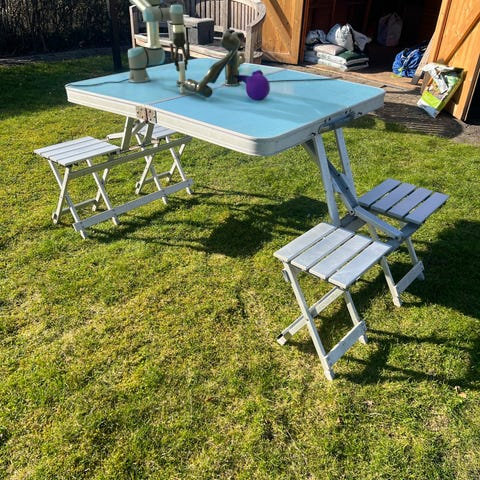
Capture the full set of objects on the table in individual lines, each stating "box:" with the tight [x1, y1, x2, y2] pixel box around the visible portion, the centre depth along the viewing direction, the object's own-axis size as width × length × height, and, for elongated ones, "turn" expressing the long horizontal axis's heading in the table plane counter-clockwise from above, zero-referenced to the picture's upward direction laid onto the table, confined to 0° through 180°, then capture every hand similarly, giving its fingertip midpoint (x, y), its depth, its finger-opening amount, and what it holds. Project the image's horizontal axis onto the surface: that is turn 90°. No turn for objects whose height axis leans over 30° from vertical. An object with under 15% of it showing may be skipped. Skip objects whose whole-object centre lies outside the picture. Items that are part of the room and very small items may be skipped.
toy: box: [233, 69, 271, 102], centre depth 280 cm, size 16×18×27 cm
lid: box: [178, 62, 185, 67], centre depth 295 cm, size 5×5×2 cm
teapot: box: [238, 51, 246, 69], centre depth 368 cm, size 21×12×15 cm, turn 120°
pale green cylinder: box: [178, 67, 188, 94], centre depth 299 cm, size 4×4×18 cm
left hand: (181, 70), depth 297 cm, fingers open, 5 cm apart
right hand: (180, 81), depth 303 cm, fingers closed on pale green cylinder, 4 cm apart
